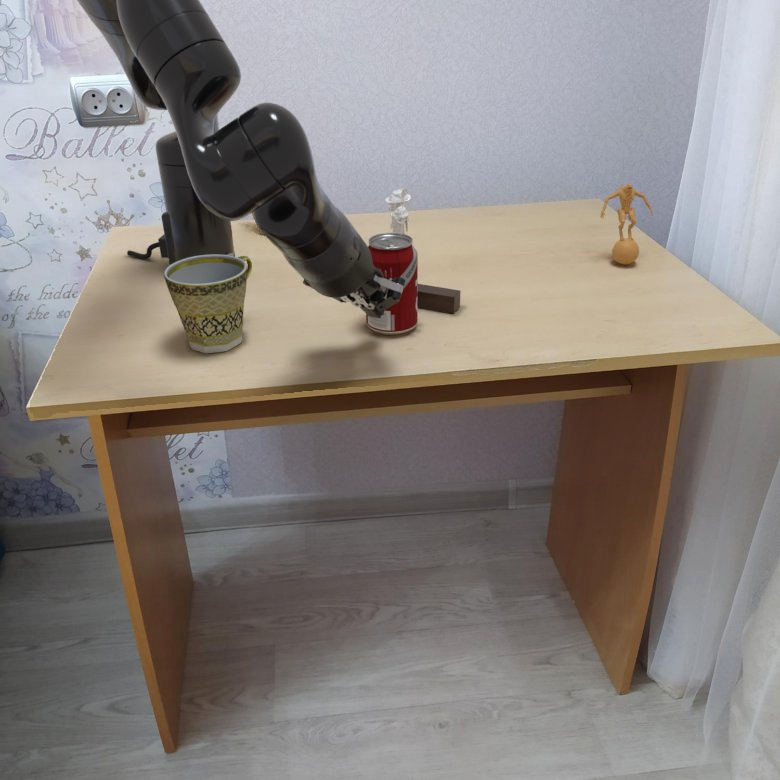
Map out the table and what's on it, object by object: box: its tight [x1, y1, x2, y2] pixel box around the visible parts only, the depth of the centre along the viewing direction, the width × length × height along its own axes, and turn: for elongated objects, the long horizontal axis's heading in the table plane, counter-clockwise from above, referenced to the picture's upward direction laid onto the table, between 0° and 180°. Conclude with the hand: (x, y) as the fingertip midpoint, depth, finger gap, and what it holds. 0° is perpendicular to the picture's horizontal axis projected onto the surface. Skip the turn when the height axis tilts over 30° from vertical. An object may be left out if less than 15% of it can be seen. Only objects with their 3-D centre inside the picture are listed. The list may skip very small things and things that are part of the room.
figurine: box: [600, 183, 654, 266], centre depth 118 cm, size 8×6×12 cm
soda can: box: [365, 232, 419, 336], centre depth 99 cm, size 7×7×12 cm
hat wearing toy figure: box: [385, 187, 412, 235], centre depth 121 cm, size 9×4×12 cm, turn 4°
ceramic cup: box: [163, 254, 253, 354], centre depth 98 cm, size 13×10×10 cm
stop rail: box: [418, 283, 461, 315], centre depth 108 cm, size 12×2×2 cm, turn 65°
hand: (377, 310), depth 96 cm, fingers closed
